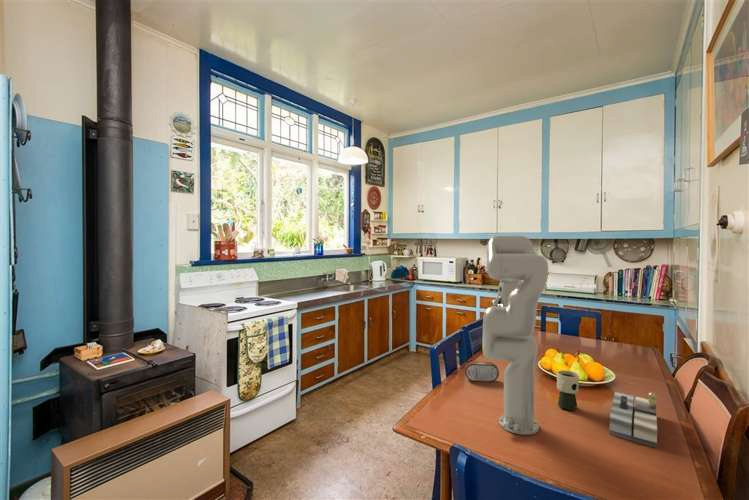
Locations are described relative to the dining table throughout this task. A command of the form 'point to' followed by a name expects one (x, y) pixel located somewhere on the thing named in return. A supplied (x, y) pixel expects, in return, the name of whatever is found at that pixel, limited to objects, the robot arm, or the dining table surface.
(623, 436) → the lock board
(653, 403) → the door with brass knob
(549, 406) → the dining table surface
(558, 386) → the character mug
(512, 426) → the robot arm
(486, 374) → the tin
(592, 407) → the dining table surface
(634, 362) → the dining table surface
